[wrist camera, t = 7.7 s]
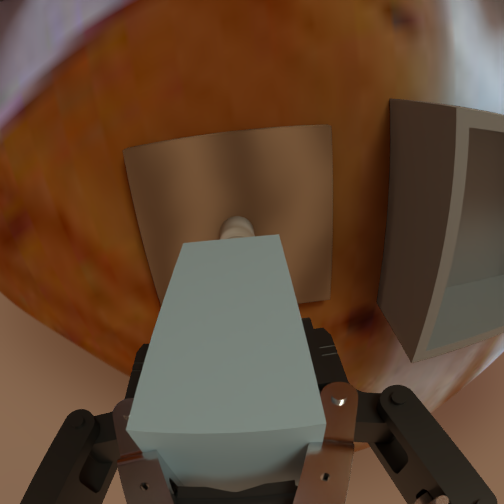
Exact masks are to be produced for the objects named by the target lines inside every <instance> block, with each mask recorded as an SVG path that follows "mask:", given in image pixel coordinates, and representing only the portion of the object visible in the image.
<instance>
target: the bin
mask: <svg viewBox="0 0 504 504" xmlns="http://www.w3.org/2000/svg"><path fill="white" fill-rule="evenodd" d="M377 304H378V306H379V307H380V309H381V311H382V312H383V314H384V316H385V317H386V319H387V321H388V323H389V324H390V326H391V328H392V329H393V331H394V333H395V335H396V336H397V338H398V340H399V342H400V343H401V345H402V347H403V349H404V350H405V352H406V354H407V356H408V358H409V359H410V361H411V363H414V362H418V361H421V360H425V359H428V358H432V357H435V356H438V355H441V354H445V353H448V352H451V351H454V350H457V349H460V348H463V347H466V346H469V345H472V344H475V343H477V342H480V341H483V340H486V339H488V338H491V337H494V336H496V335H499V334H501V333H504V115H502V114H498V113H493V112H488V111H483V110H478V109H472V108H466V107H460V106H453V105H446V104H439V103H431V102H422V101H412V100H400V99H390V175H389V195H388V210H387V223H386V234H385V243H384V253H383V261H382V269H381V276H380V283H379V290H378V297H377Z"/></svg>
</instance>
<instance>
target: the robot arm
mask: <svg viewBox="0 0 504 504" xmlns="http://www.w3.org/2000/svg"><path fill="white" fill-rule="evenodd" d="M0 1H2V0H0ZM302 323H303V327H304V331H305V335H306V339H307V343H308V347H309V351H310V356H311V360H312V364H313V368H314V372H315V376H316V380H317V385H318V389H319V393H320V397H321V402H322V406H323V410H324V415H325V419H326V428H325V433H324V438H323V442H309V445H308V449H307V453H306V457H305V461H304V465H303V469H302V473H301V477H300V480H299V484H298V486H296V485H295V480H290V481H282V482H274V483H265V484H262V485H259V486H256V487H253V488H249V489H246V490H243V491H239V492H230V491H225V490H220V489H215V488H210V487H188V486H184V485H183V484H182V482H181V481H180V480H179V479H178V477H177V476H176V475H175V474H174V472H173V471H172V470H171V469H170V467H169V466H168V465H167V463H166V462H165V461H164V459H163V458H162V457H161V455H160V454H159V452H158V451H157V450H152V451H148V452H142V451H141V450H140V448H139V447H138V446H137V444H136V443H135V442H134V440H133V439H132V438H131V436H130V435H129V434H128V432H127V431H126V427H127V423H128V420H129V416H130V412H131V408H132V404H133V400H134V397H135V393H136V389H137V386H138V382H139V379H140V375H141V372H142V368H143V365H144V361H145V358H146V354H147V351H148V348H149V344H143V345H142V347H141V348H140V349H139V350H138V352H137V354H136V357H135V361H134V365H133V368H132V372H131V376H130V380H129V384H128V388H127V392H126V396H125V399H124V400H122V401H120V402H119V403H118V404H117V405H116V406H115V408H114V410H113V411H112V412H110V413H106V414H101V415H97V416H93V415H92V414H91V413H90V412H89V411H87V410H84V409H79V410H75V411H73V412H72V413H70V414H69V415H68V416H67V418H66V419H65V421H64V423H63V425H62V426H61V428H60V430H59V431H58V433H57V435H56V437H55V438H54V440H53V442H52V444H51V446H50V447H49V449H48V451H47V453H46V455H45V457H44V458H43V460H42V462H41V464H40V466H39V468H38V470H37V471H36V474H35V475H34V477H33V479H32V481H31V483H30V485H29V487H28V489H27V491H26V493H25V495H24V497H23V499H22V501H21V503H20V504H102V502H103V500H104V498H105V495H106V493H107V491H108V488H109V486H110V484H111V481H112V479H113V477H114V474H115V472H116V470H117V467H118V471H119V475H120V479H121V483H122V487H123V491H124V495H125V498H126V502H127V504H345V501H346V496H347V490H348V485H349V479H350V474H351V467H352V461H353V454H354V444H353V442H368V444H369V445H370V447H371V448H372V450H373V451H374V453H375V454H376V456H377V457H378V459H379V460H380V462H381V464H382V465H383V466H384V468H385V470H386V471H387V473H388V474H389V476H390V477H391V479H392V480H393V482H394V484H395V485H396V487H397V488H398V490H399V491H400V493H401V494H402V496H403V497H404V499H405V501H406V502H407V504H497V499H496V497H495V495H494V494H493V493H492V491H491V490H490V489H489V487H488V486H487V485H486V483H485V482H484V481H483V479H482V478H481V477H480V475H479V474H478V473H477V472H476V470H475V469H474V468H473V467H472V465H471V464H470V463H469V461H468V460H467V459H466V457H465V456H464V455H463V454H462V452H461V451H460V450H459V449H458V447H457V446H456V445H455V443H454V442H453V441H452V440H451V438H450V437H449V436H448V435H447V434H446V432H445V431H444V430H443V428H442V427H441V426H440V425H439V423H438V422H437V421H436V420H435V419H434V417H433V416H432V415H431V414H430V412H429V411H428V410H427V409H426V407H425V406H424V405H423V404H422V403H421V401H420V400H419V399H418V398H417V397H416V395H415V394H414V393H413V392H412V391H411V390H410V389H409V388H407V387H405V386H402V385H393V386H390V387H387V388H386V389H385V390H384V391H383V392H382V393H365V392H361V391H358V390H356V389H355V388H354V387H353V386H352V385H350V383H349V382H348V380H347V377H346V375H345V372H344V369H343V366H342V364H341V361H340V358H339V355H338V354H337V350H336V347H335V346H334V342H333V339H332V337H331V335H330V334H329V333H328V332H327V331H326V330H325V329H324V328H318V329H313V326H312V323H311V320H310V318H302Z"/></svg>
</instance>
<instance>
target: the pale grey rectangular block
mask: <svg viewBox="0 0 504 504" xmlns="http://www.w3.org/2000/svg"><path fill="white" fill-rule="evenodd" d="M325 428H326V419H325V415H324V410H323V406H322V402H321V397H320V393H319V389H318V385H317V380H316V376H315V372H314V368H313V364H312V360H311V356H310V351H309V347H308V343H307V339H306V335H305V331H304V327H303V323H302V319H301V316H300V312H299V308H298V304H297V300H296V296H295V292H294V288H293V285H292V281H291V277H290V273H289V270H288V266H287V262H286V258H285V255H284V251H283V247H282V244H281V240H280V236H279V234H277V235H265V236H254V237H243V238H232V239H221V240H210V241H200V242H189V243H183V245H182V248H181V251H180V254H179V257H178V259H177V262H176V265H175V268H174V271H173V274H172V277H171V280H170V282H169V285H168V288H167V291H166V294H165V297H164V300H163V303H162V306H161V309H160V313H159V316H158V319H157V322H156V325H155V328H154V331H153V335H152V338H151V341H150V344H149V348H148V351H147V354H146V358H145V361H144V365H143V368H142V372H141V375H140V379H139V382H138V386H137V389H136V393H135V397H134V400H133V404H132V408H131V412H130V416H129V420H128V423H127V427H126V431H127V432H128V434H129V435H130V436H131V438H132V439H133V440H134V442H135V443H136V444H137V446H138V447H139V448H140V450H141V451H142V452H148V451H152V450H157V451H158V452H159V454H160V455H161V457H162V458H163V459H164V461H165V462H166V463H167V465H168V466H169V467H170V469H171V470H172V471H173V472H174V474H175V475H176V476H177V477H178V479H179V480H180V481H181V482H182V484H183V485H184V486H188V487H210V488H215V489H220V490H225V491H230V492H239V491H243V490H246V489H249V488H253V487H256V486H259V485H262V484H265V483H274V482H282V481H290V480H295V485H296V486H298V484H299V480H300V477H301V473H302V469H303V465H304V461H305V457H306V453H307V449H308V445H309V442H323V438H324V433H325Z"/></svg>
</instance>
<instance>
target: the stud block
mask: <svg viewBox="0 0 504 504" xmlns="http://www.w3.org/2000/svg"><path fill="white" fill-rule="evenodd" d="M123 155H124V160H125V166H126V171H127V176H128V181H129V185H130V190H131V195H132V199H133V204H134V208H135V212H136V217H137V221H138V225H139V229H140V233H141V237H142V241H143V245H144V248H145V252H146V256H147V260H148V263H149V267H150V270H151V274H152V277H153V281H154V284H155V288H156V291H157V294H158V298H159V301H160V304H161V306H162V303H163V300H164V297H165V294H166V291H167V288H168V285H169V282H170V280H171V277H172V274H173V271H174V268H175V265H176V262H177V259H178V257H179V254H180V251H181V248H182V245H183V243H189V242H200V241H210V240H221V239H232V238H243V237H254V236H265V235H277V234H279V236H280V240H281V244H282V247H283V251H284V255H285V258H286V262H287V266H288V270H289V273H290V277H291V281H292V285H293V288H294V292H295V296H296V300H297V304H300V303H307V302H315V301H322V300H329V299H330V290H331V269H332V237H333V162H332V131H331V126H330V125H303V126H286V127H271V128H259V129H249V130H239V131H230V132H221V133H213V134H206V135H199V136H192V137H185V138H179V139H173V140H167V141H161V142H155V143H150V144H145V145H140V146H135V147H130V148H126V149H124V150H123Z"/></svg>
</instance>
